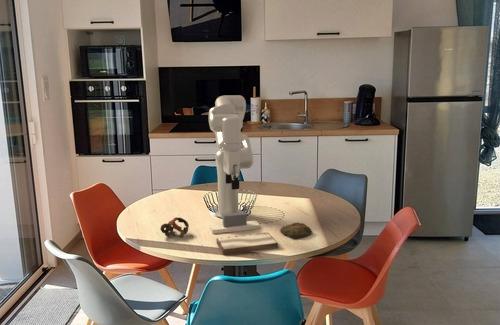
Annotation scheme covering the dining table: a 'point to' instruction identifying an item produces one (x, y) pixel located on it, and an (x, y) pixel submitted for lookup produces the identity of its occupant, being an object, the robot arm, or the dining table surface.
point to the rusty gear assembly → (175, 227)
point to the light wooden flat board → (246, 243)
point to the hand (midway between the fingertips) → (232, 186)
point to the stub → (234, 223)
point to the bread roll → (296, 230)
